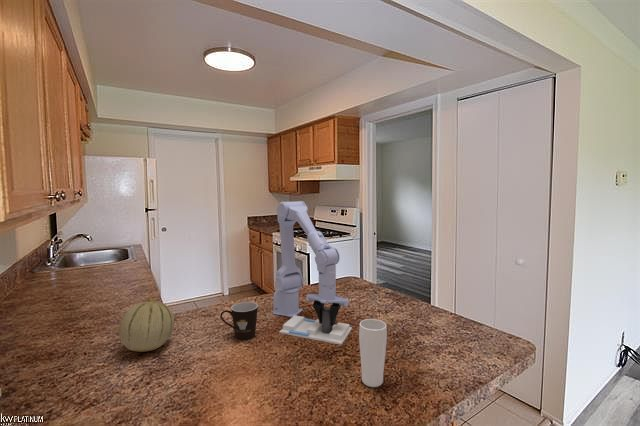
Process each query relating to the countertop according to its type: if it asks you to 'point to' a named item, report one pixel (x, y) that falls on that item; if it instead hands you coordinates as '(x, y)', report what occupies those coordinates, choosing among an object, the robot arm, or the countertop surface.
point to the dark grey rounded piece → (326, 321)
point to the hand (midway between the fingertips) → (327, 323)
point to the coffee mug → (243, 320)
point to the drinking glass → (372, 351)
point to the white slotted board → (315, 330)
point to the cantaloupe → (146, 326)
